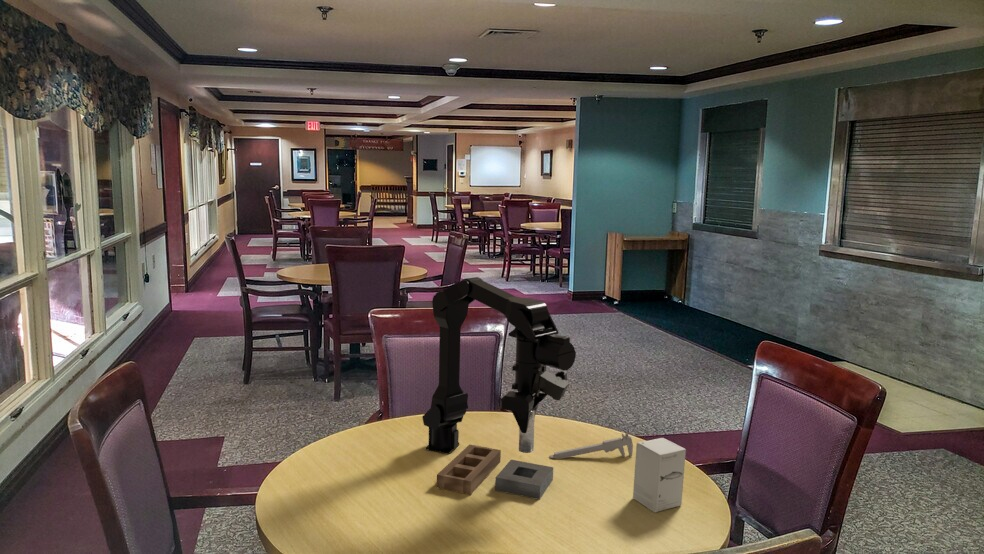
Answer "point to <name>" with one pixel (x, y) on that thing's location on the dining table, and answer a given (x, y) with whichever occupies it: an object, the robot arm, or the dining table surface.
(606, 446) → the caliper
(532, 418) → the metal peg
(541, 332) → the robot arm
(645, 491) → the supplement box
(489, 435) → the dining table surface
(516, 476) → the socket block
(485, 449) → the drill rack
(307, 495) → the dining table surface
